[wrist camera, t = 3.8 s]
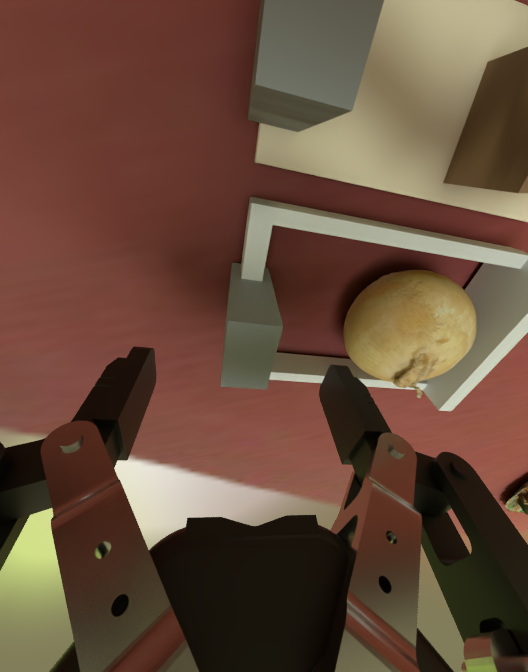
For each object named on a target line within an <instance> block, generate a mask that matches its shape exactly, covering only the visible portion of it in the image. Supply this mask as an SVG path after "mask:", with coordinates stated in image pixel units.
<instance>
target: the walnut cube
mask: <svg viewBox="0 0 528 672" xmlns="http://www.w3.org/2000/svg"><path fill="white" fill-rule="evenodd" d="M443 183H446V184H453V185H461V186H468V187H475V188H483V189H490V190H497V191H505V192H512V193H528V47H526V48H523V49H520V50H518V51H515V52H512V53H510V54H507V55H504V56H502V57H499V58H497V59H494V60H491V61H489V62H487V65H486V68H485V70H484V73H483V76H482V79H481V81H480V84H479V87H478V89H477V92H476V95H475V98H474V100H473V103H472V106H471V108H470V111H469V114H468V117H467V119H466V122H465V125H464V127H463V130H462V133H461V136H460V138H459V141H458V144H457V146H456V149H455V152H454V155H453V157H452V160H451V163H450V165H449V168H448V171H447V174H446V176H445V179H444V182H443Z"/></svg>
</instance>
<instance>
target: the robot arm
mask: <svg viewBox="0 0 528 672" xmlns="http://www.w3.org/2000/svg"><path fill="white" fill-rule="evenodd" d="M155 383H156V365H155V353H154V349H153V348H146V347H133V348H132V350H131V351H130V353H129V355H128V357H127V358H117V359H116V360H114V361H113V362H112V363H110V364H109V365H108V366H107V367H106V368H105V370H104V372H103V373H102V375H101V378H99V379H98V381H97V382H96V384H95V386H94V387H93V389H92V390H91V392H90V393H89V395H88V396H87V398H86V400H85V401H84V403H83V404H82V406H81V407H80V409H79V410H78V412H77V414H76V415H75V417H74V418H73V420H72V421H71V422H70V423H67V424H64V425H62V426H60V427H59V428H57V429H55V430H54V431H53V432H51V433H50V434H49V435H48V436H47V437H46V438H45V439H42V440H38V441H34V442H30V443H25V444H21V445H16V446H12V447H8V448H5V447H4V446H3V444H1V443H0V570H1V568H2V566H3V565H4V563H5V560H6V559H7V557H8V555H9V553H10V551H11V550H12V547H13V546H14V544H15V542H16V540H17V538H18V536H19V535H20V533H21V531H22V529H23V527H24V525H25V523H26V521H27V519H28V518H29V516H30V515H31V514H34V513H37V512H40V511H43V510H46V509H49V508H53V515H54V516H53V518H52V519H51V527H52V534H53V539H54V544H55V549H56V554H57V559H58V564H59V568H60V574H61V579H62V584H63V589H64V593H65V598H66V603H67V608H68V613H69V618H70V623H71V628H72V633H73V638H74V642H73V643H72V644H71V646H70V647H69V648H68V649H67V651H66V652H65V653H64V654H63V656H62V657H61V658H60V659H59V661H58V662H57V663H56V664H55V665H54V667H53V668H52V669H51V670H50V672H454V671H453V670H452V669H451V668H450V667H449V665H448V664H447V663H446V662H445V661H444V659H443V658H442V657H441V656H440V654H439V653H438V652H437V651H436V650H435V648H434V647H433V646H432V645H431V644H430V643H429V641H428V640H427V639H426V638H425V637H424V635H423V634H422V633H421V632H420V630H419V629H418V628H417V614H418V593H419V572H420V553H421V544H422V547H423V549H424V551H425V554H426V556H427V558H428V561H429V563H430V565H431V567H432V570H433V572H434V574H435V577H436V579H437V581H438V584H439V586H440V588H441V591H442V593H443V595H444V597H445V600H446V602H447V604H448V607H449V609H450V611H451V614H452V616H453V618H454V620H455V623H456V625H457V628H458V630H459V632H460V635H461V637H462V639H463V641H464V659H465V661H464V662H463V664H462V672H528V545H527V543H526V542H525V540H524V539H523V538H522V536H521V535H520V533H519V532H518V530H517V529H516V528H515V526H514V525H513V523H512V522H511V521H510V519H509V518H508V516H507V515H506V514H505V512H504V511H503V509H502V508H501V507H500V505H499V504H498V502H497V501H496V500H495V498H494V497H493V495H492V494H491V493H490V491H489V490H488V488H487V487H486V486H485V484H484V483H483V481H482V480H481V479H480V477H479V476H478V474H477V473H476V471H475V470H474V469H473V468H472V467H471V466H470V465H469V464H468V463H467V462H466V461H465V460H464V459H462V458H461V457H459V456H457V455H455V454H453V453H450V452H442V453H440V454H439V455H438V456H437V457H436V458H433V457H430V456H427V455H424V454H421V453H418V452H415V451H414V450H413V448H412V447H411V445H410V444H409V443H408V442H407V441H406V440H404V439H403V438H402V437H400V436H398V435H396V434H393V433H392V432H391V430H390V429H389V427H388V425H387V423H386V421H385V420H384V418H383V416H382V414H381V413H380V411H379V409H378V407H377V405H376V404H375V402H374V400H373V398H372V397H371V396H370V393H369V391H368V389H367V388H366V386H365V385H364V384H363V383H362V382H361V381H360V380H359V379H358V378H357V377H354V376H353V374H352V373H351V371H350V369H349V367H348V366H343V365H330V366H329V368H328V370H327V373H326V375H325V377H324V379H323V382H322V384H321V386H320V391H319V396H320V401H321V404H322V407H323V410H324V413H325V415H326V418H327V421H328V424H329V427H330V430H331V433H332V436H333V439H334V442H335V445H336V448H337V451H338V454H339V457H340V460H341V463H342V464H349V465H353V468H354V471H353V472H352V474H351V477H350V481H349V484H348V487H347V490H346V493H345V496H344V499H343V502H342V506H341V509H340V512H339V514H338V517H337V519H336V520H335V522H334V524H333V526H332V528H331V531H330V530H328V529H326V528H324V527H322V526H320V525H318V523H317V518H316V515H292V516H284V517H281V518H278V519H276V520H273V521H270V522H267V523H265V524H262V525H259V526H250V525H246V524H243V523H239V522H236V521H233V520H229V519H226V518H222V517H204V518H187V525H186V527H185V528H183V529H180V530H177V531H175V532H173V533H171V534H169V535H168V536H166V537H165V538H163V539H162V540H160V541H159V542H158V543H157V544H155V545H154V546H153V547H152V548H151V549H150V550H148V548H147V545H146V543H145V540H144V538H143V536H142V533H141V531H140V528H139V526H138V523H137V521H136V518H135V516H134V513H133V511H132V509H131V506H130V504H129V501H128V499H127V496H126V494H125V492H124V489H123V487H122V484H121V482H120V480H119V479H118V477H117V475H116V472H115V470H114V467H115V465H116V462H117V460H128V457H129V455H130V452H131V449H132V447H133V444H134V441H135V438H136V436H137V433H138V430H139V428H140V425H141V422H142V420H143V417H144V414H145V412H146V409H147V406H148V404H149V401H150V398H151V396H152V393H153V390H154V387H155ZM451 508H452V510H453V511H454V513H455V515H456V517H457V518H458V520H459V522H460V524H461V526H462V527H463V529H464V531H465V533H466V534H467V536H468V538H469V540H470V543H471V546H472V552H471V554H470V553H469V551H468V549H467V547H466V546H465V544H464V542H463V540H462V538H461V536H460V535H459V533H458V531H457V529H456V527H455V525H454V524H453V522H452V520H451V518H450V516H449V514H448V513H447V511H449V510H450V509H451Z"/></svg>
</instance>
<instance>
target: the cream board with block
mask: <svg viewBox="0 0 528 672" xmlns="http://www.w3.org/2000/svg"><path fill="white" fill-rule="evenodd" d="M526 47H528V6H527V5H525V4H522V3H520V2H517V1H515V0H260V9H259V18H258V27H257V37H256V46H255V55H254V64H253V74H252V83H251V92H250V102H249V111H248V120H250V121H254V122H258V123H259V128H258V136H257V144H256V152H255V159H254V162H256V163H261V164H265V165H270V166H274V167H279V168H284V169H288V170H293V171H297V172H302V173H306V174H311V175H315V176H320V177H325V178H329V179H334V180H338V181H343V182H347V183H352V184H357V185H361V186H366V187H370V188H375V189H379V190H384V191H388V192H393V193H398V194H402V195H407V196H411V197H416V198H420V199H425V200H430V201H434V202H439V203H443V204H448V205H452V206H457V207H462V208H466V209H471V210H475V211H480V212H484V213H489V214H493V215H498V216H503V217H507V218H512V219H516V220H521V221H525V222H528V193H512V192H505V191H497V190H490V189H483V188H475V187H468V186H461V185H453V184H446V183H443V182H444V179H445V176H446V174H447V171H448V168H449V165H450V163H451V160H452V157H453V155H454V152H455V149H456V146H457V144H458V141H459V138H460V136H461V133H462V130H463V127H464V125H465V122H466V119H467V117H468V114H469V111H470V108H471V106H472V103H473V100H474V98H475V95H476V92H477V89H478V87H479V84H480V81H481V79H482V76H483V73H484V70H485V68H486V65H487V62H489V61H491V60H494V59H497V58H499V57H502V56H504V55H507V54H510V53H512V52H515V51H518V50H520V49H523V48H526Z"/></svg>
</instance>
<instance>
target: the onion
mask: <svg viewBox="0 0 528 672" xmlns="http://www.w3.org/2000/svg"><path fill="white" fill-rule="evenodd" d="M476 332H477V331H476V312H475V309H474V306H473V303H472V301H471V300H470V298H469V296H468V294H467V293H466V292H465V291H464V290H463V289H462V288H461V287H460V286H459V285H458V284H457V283H456V282H454V281H453V280H451V279H450V278H448V277H446V276H443V275H441V274H438V273H435V272H432V271H428V270H407V271H402V272H396V273H394V272H393V273H390V274H388V275H383V276H382V277H381V278H379V279H378V280H377V281H375V282H373V283H371V284H370V285H369V286H367V287H366V288H365V289H364V290H363V291H362V292H361V293H360V294H359V295H358V296H357V298H356V299H355V301H354V302H353V304H352V305H351V307H350V309H349V311H348V313H347V316H346V319H345V324H344V332H343V333H344V334H343V335H344V345H345V349H346V351H347V353H348V355H349V357H350V358H351V359H352V361H353V362H354V363H355V364H356V365H357V366H358V367H359V368H360V369H362V370H363V371H365V372H366V373H368V374H370V375H372V376H374V377H376V378H378V379H381V380H384V381H388V382H393V384H394V385H396V386H397V387H400V388H402V387H403V388H406V387H411V388H414V389H415V390H417V391H416V392H417V397H418V398H420V397H422V396H420V395H421V394H422V395H423V393H422V392H421V391H422V390H420V389H419V387H416V384H417V383H418V382H419V381H422V380H427V379H430V378H433V377H436V376H439V375H441V374H443V373H445V372H447V371H448V370H449V369H451V368H452V367H454V366H455V365H456V364H457V363H458V362H459V361H460V360H461V359H462V358H463V357H464V356H465V355H466V354H467V352H468V351H469V350H470V349H471V347H472V345H473V343H474V340H475V337H476ZM414 386H415V387H414Z"/></svg>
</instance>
